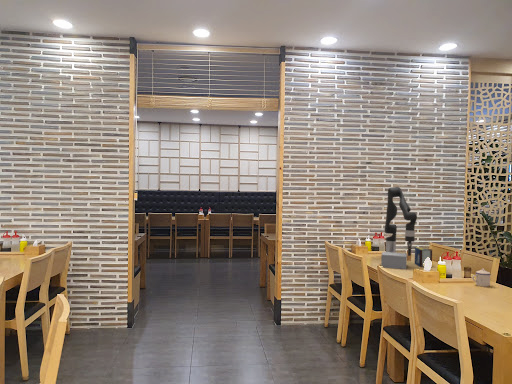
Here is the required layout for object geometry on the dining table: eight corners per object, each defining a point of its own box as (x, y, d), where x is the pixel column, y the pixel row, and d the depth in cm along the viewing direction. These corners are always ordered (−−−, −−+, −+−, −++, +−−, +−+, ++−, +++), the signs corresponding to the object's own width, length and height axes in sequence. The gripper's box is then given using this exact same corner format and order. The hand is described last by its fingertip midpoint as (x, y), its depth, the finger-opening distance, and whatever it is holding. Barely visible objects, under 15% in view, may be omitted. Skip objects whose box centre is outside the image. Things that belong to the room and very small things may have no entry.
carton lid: (382, 256, 358) (382, 247, 358) (410, 259, 349) (411, 249, 349) (381, 260, 341) (381, 250, 341) (411, 262, 333) (411, 252, 332)
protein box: (426, 264, 361) (426, 247, 360) (432, 267, 345) (432, 249, 345) (414, 263, 362) (414, 246, 361) (419, 267, 346) (420, 249, 346)
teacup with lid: (485, 283, 287) (485, 267, 287) (493, 287, 278) (493, 270, 278) (468, 283, 287) (469, 267, 287) (475, 286, 278) (476, 269, 278)
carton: (382, 263, 358) (382, 252, 358) (406, 265, 351) (406, 254, 351) (381, 267, 341) (381, 255, 341) (406, 269, 334) (406, 257, 334)
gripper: (405, 234, 349) (404, 253, 349) (405, 236, 336) (404, 255, 336) (414, 235, 347) (413, 254, 347) (414, 236, 333) (414, 256, 333)
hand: (409, 255), depth 341 cm, fingers open, 7 cm apart
